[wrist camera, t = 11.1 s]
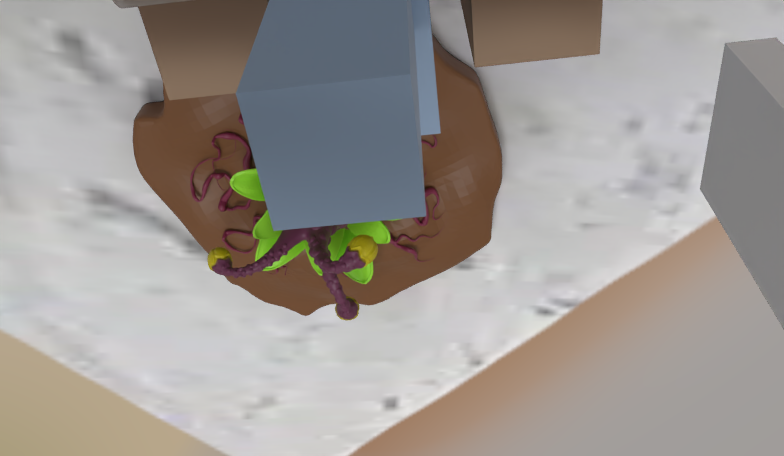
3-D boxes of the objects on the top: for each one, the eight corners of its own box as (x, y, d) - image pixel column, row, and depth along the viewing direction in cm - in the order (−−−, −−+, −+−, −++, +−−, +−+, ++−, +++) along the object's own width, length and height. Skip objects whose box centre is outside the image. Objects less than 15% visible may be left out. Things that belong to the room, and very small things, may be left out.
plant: (543, 224, 47) (579, 354, 38) (277, 318, 52) (254, 453, 43) (414, -73, 36) (421, 12, 27) (93, 84, 41) (10, 199, 32)
